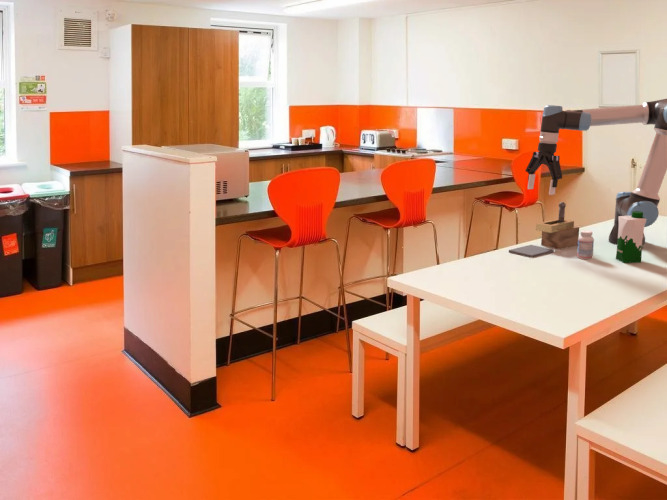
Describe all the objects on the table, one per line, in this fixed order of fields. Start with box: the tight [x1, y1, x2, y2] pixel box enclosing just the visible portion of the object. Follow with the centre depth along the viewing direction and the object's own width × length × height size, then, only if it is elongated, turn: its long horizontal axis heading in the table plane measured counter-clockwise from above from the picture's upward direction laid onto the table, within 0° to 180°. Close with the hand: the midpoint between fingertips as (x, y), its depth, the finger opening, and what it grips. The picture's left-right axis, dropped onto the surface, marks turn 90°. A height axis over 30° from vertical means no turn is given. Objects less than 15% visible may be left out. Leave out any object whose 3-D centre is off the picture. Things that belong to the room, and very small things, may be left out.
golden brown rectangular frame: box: [535, 218, 575, 233], centre depth 295 cm, size 8×16×3 cm, turn 126°
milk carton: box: [615, 211, 646, 264], centre depth 270 cm, size 9×9×20 cm
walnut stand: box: [540, 201, 580, 250], centre depth 298 cm, size 10×13×20 cm
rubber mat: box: [508, 244, 555, 259], centre depth 289 cm, size 12×15×1 cm
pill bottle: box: [576, 229, 595, 260], centre depth 277 cm, size 6×6×11 cm
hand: (540, 191), depth 289 cm, fingers open, 13 cm apart
